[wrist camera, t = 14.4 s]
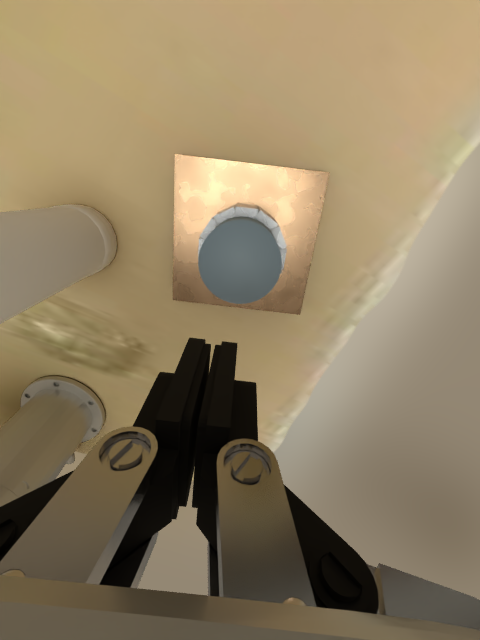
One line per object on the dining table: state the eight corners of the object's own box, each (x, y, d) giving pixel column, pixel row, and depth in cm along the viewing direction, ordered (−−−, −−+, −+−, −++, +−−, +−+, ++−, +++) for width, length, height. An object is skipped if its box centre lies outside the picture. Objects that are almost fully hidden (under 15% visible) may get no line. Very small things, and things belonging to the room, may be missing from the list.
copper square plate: (298, 310, 38) (308, 338, 31) (175, 295, 38) (157, 321, 31) (326, 173, 32) (348, 169, 24) (178, 155, 32) (156, 146, 24)
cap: (269, 281, 33) (274, 308, 25) (208, 274, 33) (196, 299, 25) (279, 216, 30) (288, 226, 23) (213, 209, 30) (200, 216, 23)
